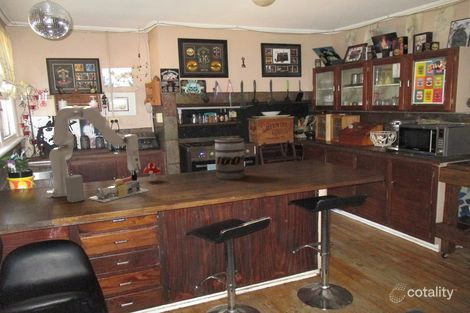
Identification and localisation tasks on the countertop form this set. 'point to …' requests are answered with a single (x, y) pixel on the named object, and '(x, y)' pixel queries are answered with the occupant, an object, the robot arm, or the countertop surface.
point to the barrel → (229, 158)
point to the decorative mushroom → (151, 171)
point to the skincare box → (74, 188)
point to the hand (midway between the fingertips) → (134, 180)
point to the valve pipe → (118, 191)
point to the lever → (123, 180)
